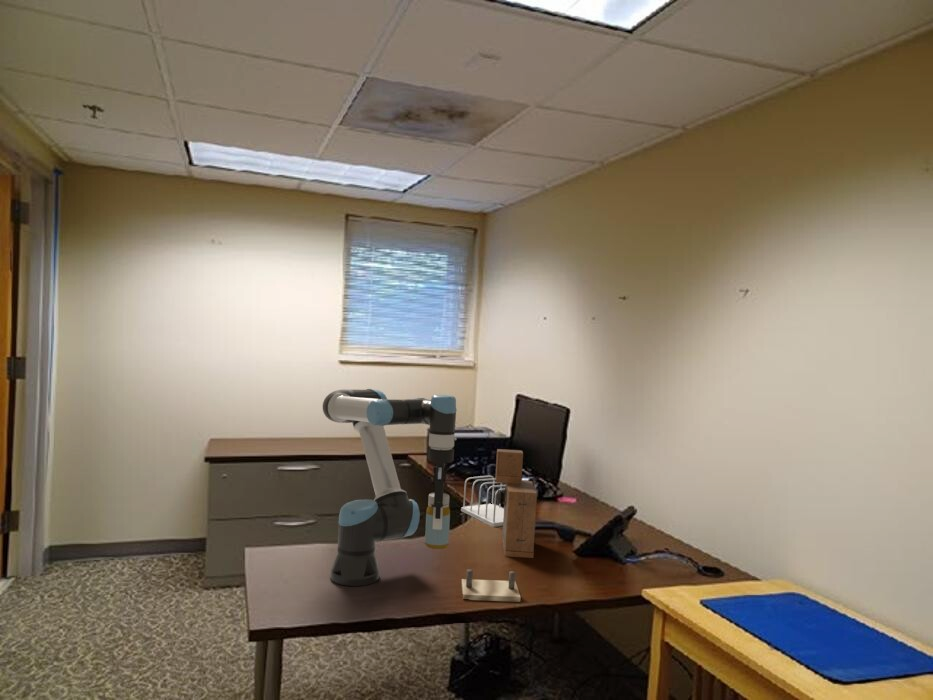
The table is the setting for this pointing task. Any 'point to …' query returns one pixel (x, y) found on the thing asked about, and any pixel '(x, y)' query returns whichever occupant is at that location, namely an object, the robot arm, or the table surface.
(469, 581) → the peg stand
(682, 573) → the table surface
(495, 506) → the file sorter
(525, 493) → the tan tall stacked block
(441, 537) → the bottle
